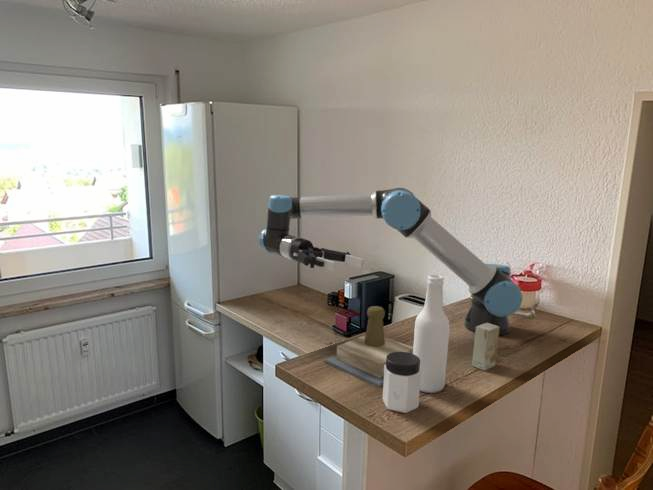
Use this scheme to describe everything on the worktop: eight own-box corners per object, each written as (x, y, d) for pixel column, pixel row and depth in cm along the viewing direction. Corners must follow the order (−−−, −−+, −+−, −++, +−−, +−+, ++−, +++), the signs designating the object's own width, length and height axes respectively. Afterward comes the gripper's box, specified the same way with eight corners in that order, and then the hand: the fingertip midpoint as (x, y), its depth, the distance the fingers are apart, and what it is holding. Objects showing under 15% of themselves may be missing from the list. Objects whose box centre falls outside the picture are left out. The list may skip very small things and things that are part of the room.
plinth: (371, 342, 159) (372, 328, 158) (425, 362, 145) (426, 347, 144) (324, 362, 143) (324, 346, 142) (378, 386, 130) (379, 369, 129)
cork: (367, 337, 150) (369, 302, 148) (386, 340, 148) (388, 305, 146) (361, 344, 145) (363, 308, 142) (382, 348, 143) (383, 311, 140)
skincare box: (484, 371, 141) (488, 330, 138) (471, 366, 144) (474, 326, 141) (496, 365, 145) (500, 325, 142) (483, 360, 148) (486, 321, 146)
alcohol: (409, 376, 136) (417, 271, 130) (442, 379, 135) (451, 273, 129) (411, 392, 127) (419, 280, 121) (446, 395, 126) (456, 282, 120)
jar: (378, 407, 119) (380, 361, 117) (386, 392, 127) (389, 348, 124) (414, 416, 116) (418, 368, 114) (421, 400, 124) (424, 355, 121)
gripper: (321, 258, 168) (371, 274, 155) (266, 263, 149) (318, 281, 136) (324, 236, 167) (375, 250, 153) (269, 238, 148) (322, 255, 134)
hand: (348, 265), depth 144 cm, fingers open, 13 cm apart
